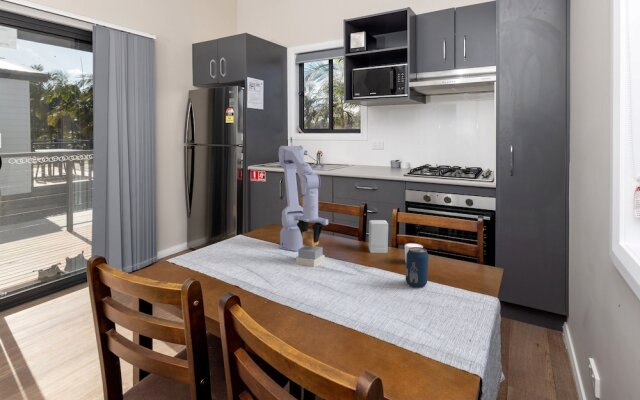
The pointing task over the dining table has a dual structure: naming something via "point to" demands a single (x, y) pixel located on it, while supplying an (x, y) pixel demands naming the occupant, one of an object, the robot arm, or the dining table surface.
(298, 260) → the cream base block
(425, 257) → the soda can
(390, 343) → the dining table surface
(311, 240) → the orange block
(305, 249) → the slate top block
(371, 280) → the dining table surface
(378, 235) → the supplement box
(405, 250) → the white cylinder
